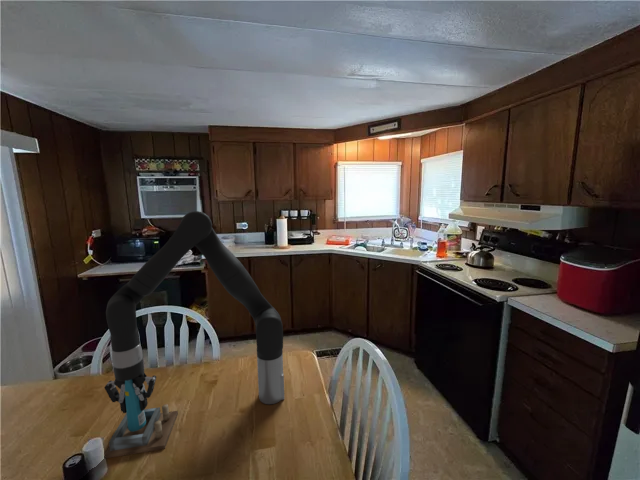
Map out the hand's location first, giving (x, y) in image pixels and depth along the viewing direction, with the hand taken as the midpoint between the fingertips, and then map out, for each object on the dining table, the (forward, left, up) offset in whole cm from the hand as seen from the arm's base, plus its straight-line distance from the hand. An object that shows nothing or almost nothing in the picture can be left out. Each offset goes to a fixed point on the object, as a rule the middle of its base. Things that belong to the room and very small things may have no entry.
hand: (134, 409), depth 90 cm
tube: (0, 0, -6) cm, 6 cm away
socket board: (-2, 0, -9) cm, 9 cm away
